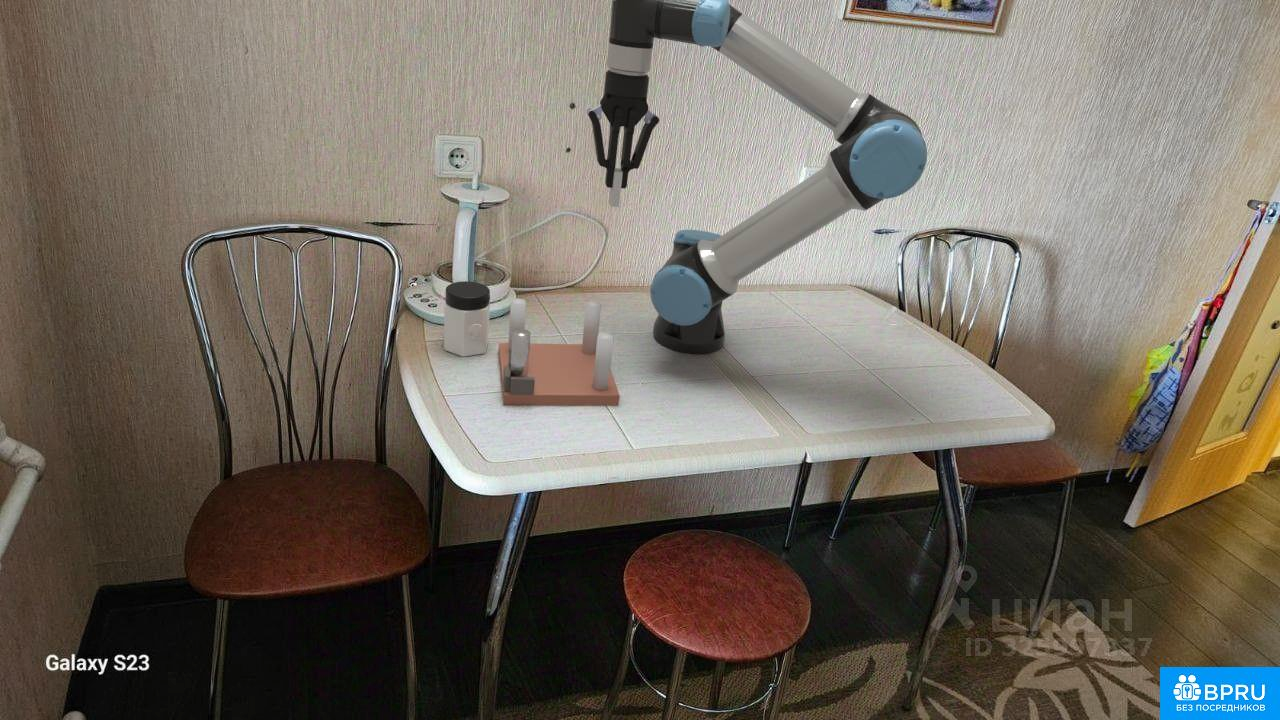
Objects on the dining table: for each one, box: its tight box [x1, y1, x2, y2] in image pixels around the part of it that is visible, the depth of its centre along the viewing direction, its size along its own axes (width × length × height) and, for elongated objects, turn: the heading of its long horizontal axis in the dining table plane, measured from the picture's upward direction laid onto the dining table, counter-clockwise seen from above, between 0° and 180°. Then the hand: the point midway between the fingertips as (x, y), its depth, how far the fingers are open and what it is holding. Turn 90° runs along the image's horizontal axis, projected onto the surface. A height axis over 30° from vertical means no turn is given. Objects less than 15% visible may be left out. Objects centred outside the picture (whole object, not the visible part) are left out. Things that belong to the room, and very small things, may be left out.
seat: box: [498, 297, 620, 406], centre depth 147 cm, size 20×20×12 cm
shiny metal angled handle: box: [508, 328, 531, 381], centre depth 142 cm, size 10×4×10 cm, turn 9°
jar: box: [443, 281, 491, 358], centre depth 154 cm, size 9×8×12 cm
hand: (613, 204), depth 150 cm, fingers closed
